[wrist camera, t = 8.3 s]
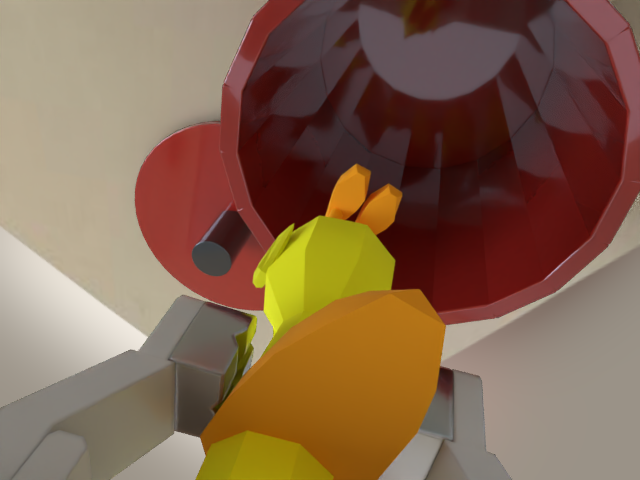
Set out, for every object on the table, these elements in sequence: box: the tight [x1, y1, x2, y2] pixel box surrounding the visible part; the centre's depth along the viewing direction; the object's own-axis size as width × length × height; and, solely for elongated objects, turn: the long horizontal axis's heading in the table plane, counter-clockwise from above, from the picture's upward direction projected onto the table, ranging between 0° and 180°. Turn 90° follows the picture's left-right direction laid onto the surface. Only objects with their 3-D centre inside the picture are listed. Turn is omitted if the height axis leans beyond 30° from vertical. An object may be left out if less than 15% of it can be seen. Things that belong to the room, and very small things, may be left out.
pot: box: [219, 0, 640, 325], centre depth 23 cm, size 13×14×14 cm
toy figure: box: [196, 163, 446, 480], centre depth 10 cm, size 7×4×12 cm, turn 152°
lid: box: [135, 121, 266, 310], centre depth 35 cm, size 14×14×5 cm
